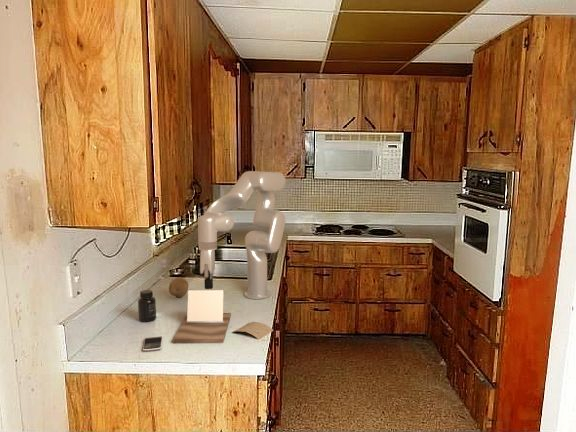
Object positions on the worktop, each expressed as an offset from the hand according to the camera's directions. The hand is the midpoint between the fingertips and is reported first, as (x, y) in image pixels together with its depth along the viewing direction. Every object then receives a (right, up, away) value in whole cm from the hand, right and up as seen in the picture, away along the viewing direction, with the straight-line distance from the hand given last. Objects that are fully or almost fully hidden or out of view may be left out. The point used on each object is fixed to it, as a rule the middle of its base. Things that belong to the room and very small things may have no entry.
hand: (208, 288), depth 180 cm
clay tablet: (+19, -15, -14) cm, 28 cm away
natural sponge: (-19, -9, +24) cm, 32 cm away
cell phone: (-15, -17, -26) cm, 34 cm away
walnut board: (0, -14, -11) cm, 18 cm away
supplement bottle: (-25, -13, -2) cm, 28 cm away
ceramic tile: (0, -6, -8) cm, 10 cm away
